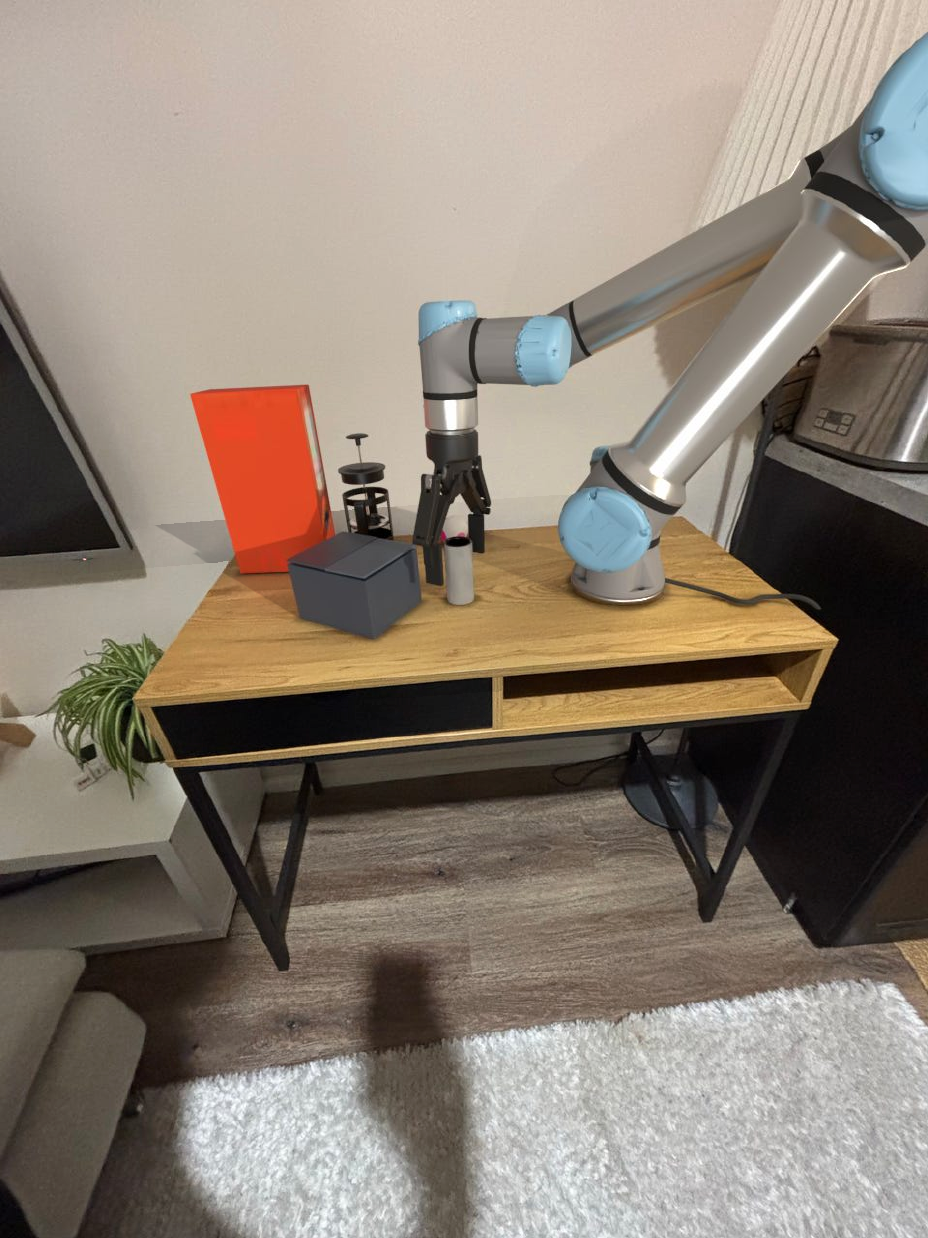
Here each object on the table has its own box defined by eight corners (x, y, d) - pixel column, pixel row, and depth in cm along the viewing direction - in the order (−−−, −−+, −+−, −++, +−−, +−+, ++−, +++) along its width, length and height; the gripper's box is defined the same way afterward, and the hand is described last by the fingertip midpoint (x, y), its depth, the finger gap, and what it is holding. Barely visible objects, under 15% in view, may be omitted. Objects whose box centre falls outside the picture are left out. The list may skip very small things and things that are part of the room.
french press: (357, 540, 111) (339, 429, 100) (399, 539, 111) (387, 427, 99) (343, 563, 101) (322, 442, 90) (390, 562, 101) (375, 440, 89)
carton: (421, 601, 86) (416, 543, 81) (374, 639, 76) (364, 576, 71) (352, 585, 92) (342, 531, 87) (299, 618, 83) (285, 559, 78)
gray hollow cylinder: (471, 606, 84) (469, 547, 78) (444, 604, 85) (440, 546, 79) (476, 593, 87) (474, 536, 82) (450, 592, 88) (447, 535, 83)
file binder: (255, 557, 106) (210, 388, 90) (339, 554, 105) (308, 383, 89) (240, 574, 99) (188, 394, 83) (330, 571, 98) (295, 388, 82)
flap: (415, 546, 81) (415, 543, 81) (364, 579, 71) (363, 576, 71) (378, 540, 84) (378, 537, 84) (324, 570, 74) (324, 568, 74)
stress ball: (444, 551, 112) (425, 529, 109) (473, 529, 111) (454, 505, 108) (448, 564, 106) (428, 540, 103) (479, 540, 104) (459, 515, 101)
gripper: (470, 413, 83) (472, 537, 94) (376, 445, 65) (393, 594, 76) (512, 416, 80) (510, 543, 91) (426, 450, 62) (436, 605, 72)
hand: (457, 567), depth 83 cm, fingers open, 13 cm apart
